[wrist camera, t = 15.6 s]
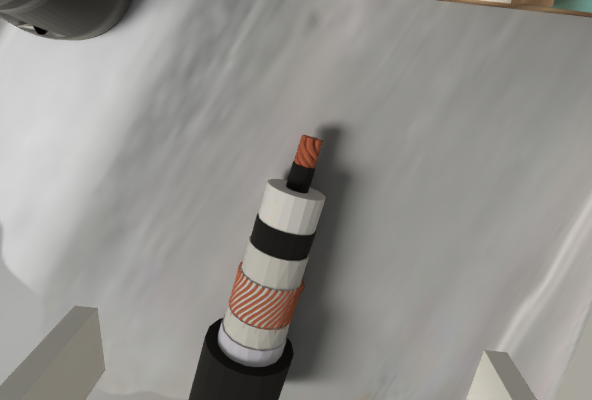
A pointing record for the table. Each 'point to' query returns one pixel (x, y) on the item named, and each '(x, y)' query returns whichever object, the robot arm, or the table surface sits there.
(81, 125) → the table surface
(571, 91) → the table surface
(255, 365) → the cable
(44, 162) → the table surface
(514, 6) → the caddy
